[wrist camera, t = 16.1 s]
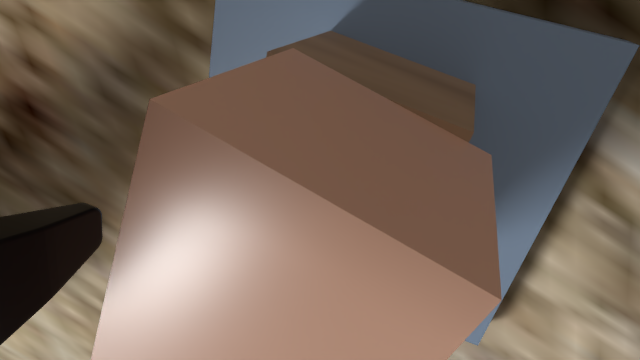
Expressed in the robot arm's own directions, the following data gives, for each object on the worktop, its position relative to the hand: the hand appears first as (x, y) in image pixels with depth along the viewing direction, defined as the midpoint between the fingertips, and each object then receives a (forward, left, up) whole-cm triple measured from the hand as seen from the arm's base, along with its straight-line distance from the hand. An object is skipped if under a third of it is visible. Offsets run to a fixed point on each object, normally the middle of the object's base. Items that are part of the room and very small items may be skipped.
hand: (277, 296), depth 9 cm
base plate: (0, 0, -9) cm, 9 cm away
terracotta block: (0, 0, -3) cm, 3 cm away
